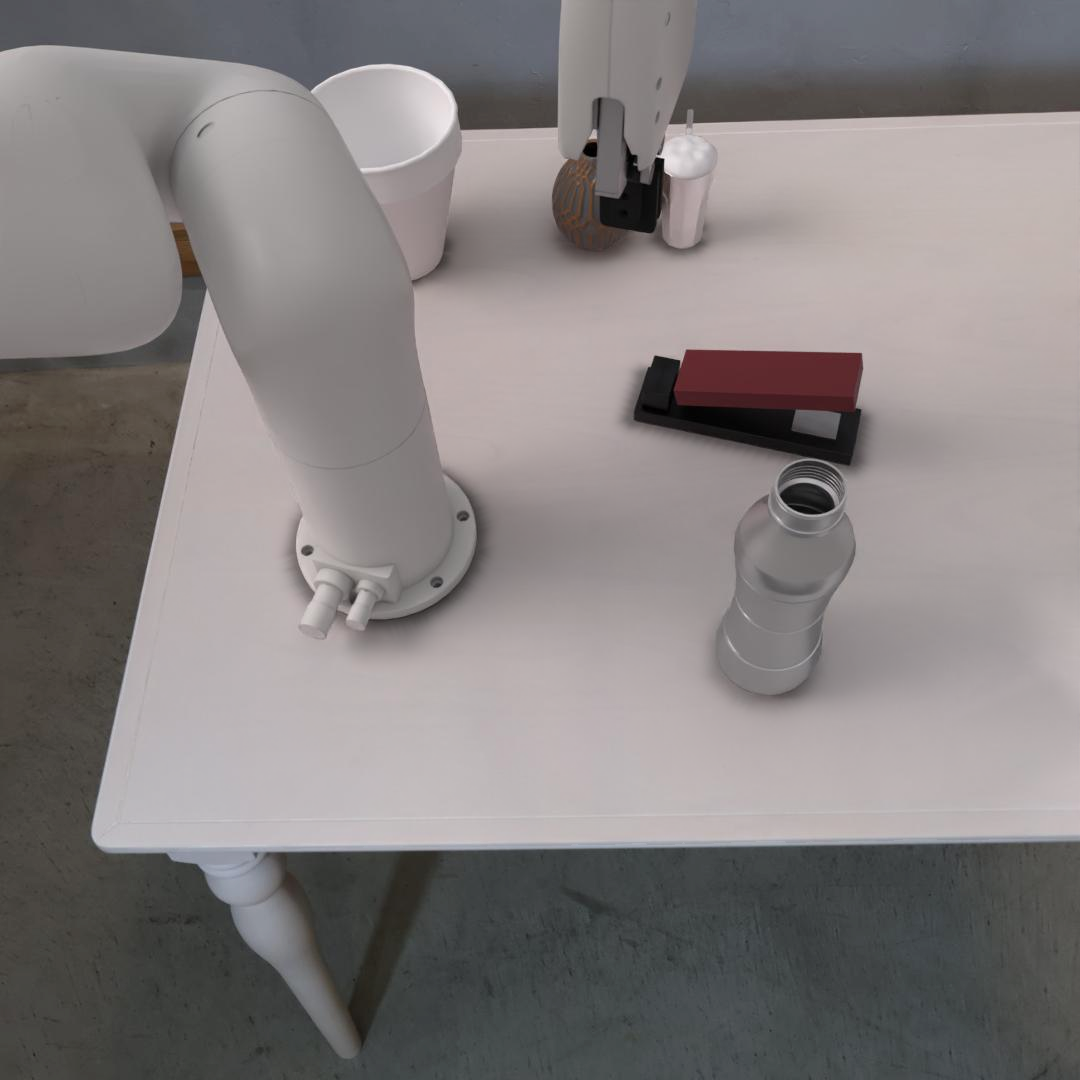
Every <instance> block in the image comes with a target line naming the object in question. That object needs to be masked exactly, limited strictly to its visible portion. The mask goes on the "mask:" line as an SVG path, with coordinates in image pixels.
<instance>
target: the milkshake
mask: <svg viewBox="0 0 1080 1080" xmlns="http://www.w3.org/2000/svg"><path fill="white" fill-rule="evenodd" d="M694 111H695V110H694V109H687V111H686V112H687V113H686V128H685V129H686V130H685V135H676V136H674V137H672V138H671V139H668V140H667V141H666V142H664V147H663V151H662V154H661V155H658V156H657V157H658V158H664V159H665V160H664V178H663V195H662V211H661V229H662V230H661V232H662V233H661V234H662V239H663V240H664V242H665V243H666V244H667V245H668V246H669V247H671V248H676V249H679V250H683V249H688V248H693V247H695V245H697V244H698V243H699V242H700V241H701V239H702V235H703V229H704V225H705V218H706V213H707V209H708V204H709V198H710V194H711V190H712V185H713V181H714V176H715V172H716V168H717V165H718V161H719V160H718V158H719V156H718V155H719V154H718V149H717V148H716V147H715V145H713V144H712V143H711V142H710V141H709V140H708V139H707V138H705V137H703V136H696V135H693V127H694V126H693V124H694Z"/></svg>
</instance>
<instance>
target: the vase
mask: <svg viewBox="0 0 1080 1080" xmlns="http://www.w3.org/2000/svg"><path fill="white" fill-rule="evenodd" d="M597 148H598V147H597V138H589V139H588V141H587V143H586V145H585V147H584V149H583V151H582V153H581V155H580V157H579V159H578V160H574V159H567V160H566V161H565V162H564V163H563V164H562V166H561V167H560V169H559V171H558V173H557V175H556V178H555V180H554V183H553V186H552V192H551V207H552V214H553V219H554V221H555V224H556V226H557V228H558V231H559V233H561V234H562V236H563V238H565V239H566V240H567V241H568V242H569V243H570V244H572V245H573V246H575V247H577V248H579V249H582V250H585V251H591V252H596V251H597V252H598V251H603V250H606V249H608V248H609V249H610V248H611V247H613V246H616V244H618V243H619V242H620V241H622V240H623V239H624V238H625V237H626V236H627V234H628V233H629V231H630V230H625V229H619V228H614V227H608V226H604V225H602V224H601V222H600V195H595V179H596V163H597Z"/></svg>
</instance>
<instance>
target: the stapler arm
mask: <svg viewBox="0 0 1080 1080" xmlns="http://www.w3.org/2000/svg"><path fill="white" fill-rule="evenodd" d="M863 372H864V358H863V353H862V352H840V351H839V352H837V351H835V352H834V351H792V350H791V351H789V350H787V351H786V350H738V349H737V350H736V349H735V350H734V349H690V348H688V349H685V352H684V355H683V358H682V362H681V363H680V371H679V374H678V378H677V381H676V384H675V387H674V394H675V397H676V401H677V404H678V405H691V406H716V407H741V408H766V409H791V410H816V411H841V412H855V408H857V403H858V399H859V398H858V397H859V393H860V387H861V384H862V383H861V382H862V377H863Z"/></svg>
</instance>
